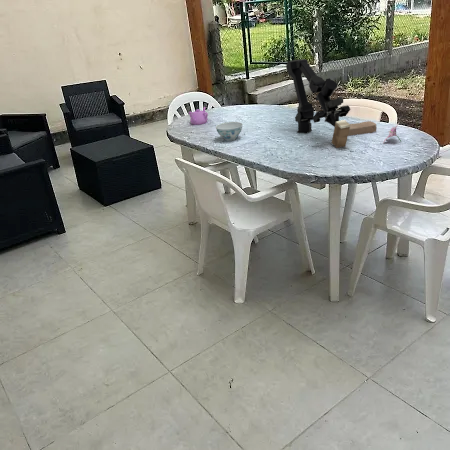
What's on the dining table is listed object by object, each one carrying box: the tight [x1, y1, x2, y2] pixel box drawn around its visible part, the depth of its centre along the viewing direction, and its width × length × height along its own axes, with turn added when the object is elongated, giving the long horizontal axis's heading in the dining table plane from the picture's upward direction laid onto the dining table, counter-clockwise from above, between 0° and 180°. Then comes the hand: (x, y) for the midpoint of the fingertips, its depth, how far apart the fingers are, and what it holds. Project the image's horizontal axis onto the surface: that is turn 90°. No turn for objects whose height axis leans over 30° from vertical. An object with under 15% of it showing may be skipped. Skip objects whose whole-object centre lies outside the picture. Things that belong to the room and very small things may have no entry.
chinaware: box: [215, 121, 243, 142], centre depth 252 cm, size 15×15×8 cm
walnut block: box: [331, 119, 351, 149], centre depth 218 cm, size 5×5×12 cm
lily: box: [382, 122, 402, 144], centre depth 218 cm, size 12×12×10 cm
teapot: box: [188, 106, 209, 126], centre depth 292 cm, size 12×14×9 cm
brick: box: [348, 120, 377, 137], centre depth 238 cm, size 17×8×5 cm, turn 95°
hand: (338, 128), depth 219 cm, fingers closed
